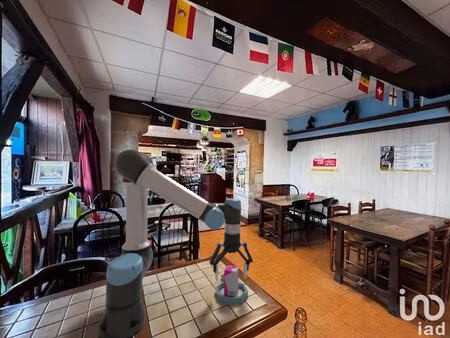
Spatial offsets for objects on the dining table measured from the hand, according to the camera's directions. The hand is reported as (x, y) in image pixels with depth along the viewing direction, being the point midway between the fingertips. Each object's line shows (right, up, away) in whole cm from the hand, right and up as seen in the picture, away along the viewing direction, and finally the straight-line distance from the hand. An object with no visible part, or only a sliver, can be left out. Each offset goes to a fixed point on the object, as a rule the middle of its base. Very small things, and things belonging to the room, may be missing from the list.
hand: (230, 278), depth 90 cm
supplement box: (0, -7, 0) cm, 7 cm away
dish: (0, -7, 0) cm, 7 cm away
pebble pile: (-1, -8, +14) cm, 16 cm away
